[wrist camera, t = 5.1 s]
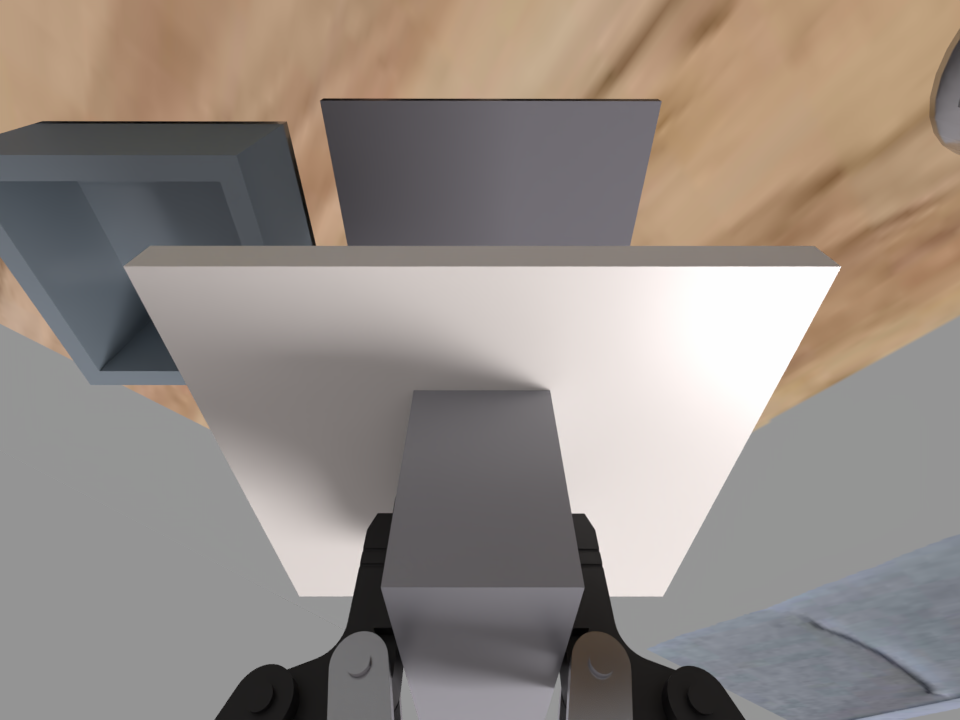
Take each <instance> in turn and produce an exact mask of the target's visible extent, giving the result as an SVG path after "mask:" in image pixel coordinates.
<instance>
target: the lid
mask: <svg viewBox="0 0 960 720" xmlns="http://www.w3.org/2000/svg"><path fill="white" fill-rule="evenodd" d="M123 267H124V269H125V271H126V272H127V274H128V276H129V278H130V280H131V282H132V284H133V286H134V287H135V289H136V291H137V293H138V295H139V297H140V299H141V301H142V302H143V304H144V306H145V308H146V310H147V312H148V314H149V316H150V317H151V319H152V321H153V323H154V325H155V327H156V329H157V331H158V332H159V334H160V336H161V338H162V340H163V342H164V344H165V346H166V347H167V349H168V351H169V353H170V355H171V357H172V359H173V361H174V362H175V364H176V366H177V368H178V370H179V372H180V374H181V376H182V377H183V379H184V381H185V383H186V385H187V387H188V389H189V391H190V392H191V394H192V396H193V398H194V400H195V402H196V404H197V406H198V407H199V409H200V411H201V413H202V415H203V417H204V419H205V421H206V422H207V424H208V426H209V428H210V430H211V432H212V434H213V436H214V437H215V439H216V441H217V443H218V445H219V447H220V449H221V451H222V452H223V454H224V456H225V458H226V460H227V462H228V464H229V466H230V467H231V469H232V471H233V473H234V475H235V477H236V479H237V480H238V482H239V484H240V486H241V488H242V490H243V492H244V494H245V495H246V497H247V499H248V501H249V503H250V505H251V507H252V509H253V510H254V512H255V514H256V516H257V518H258V520H259V522H260V524H261V525H262V527H263V529H264V531H265V533H266V535H267V537H268V539H269V540H270V542H271V544H272V546H273V548H274V550H275V552H276V554H277V555H278V557H279V559H280V561H281V563H282V565H283V567H284V569H285V570H286V572H287V574H288V576H289V578H290V580H291V582H292V584H293V585H294V587H295V589H296V591H297V593H298V595H299V596H353V594H354V589H355V584H356V579H357V575H358V570H359V567H360V560H361V556H362V552H363V546H364V541H365V537H366V532H367V529H368V527H369V526H370V524H371V523H372V521H373V519H374V518H375V516H376V515H377V513H393V517H392V523H391V529H390V535H389V541H388V547H387V553H386V559H385V565H384V571H383V577H382V583H381V590H382V594H383V597H384V601H385V604H386V608H387V611H388V615H389V618H390V622H391V625H392V629H393V632H394V636H395V639H396V643H397V646H398V650H399V653H400V657H401V660H402V664H403V667H404V671H405V674H406V677H407V681H408V685H409V688H410V691H411V695H412V699H413V702H414V706H415V709H416V712H417V716H418V720H545V718H546V714H547V711H548V708H549V704H550V701H551V698H552V694H553V691H554V688H555V684H556V681H557V678H558V674H559V671H560V668H561V664H562V661H563V658H564V654H565V651H566V648H567V645H568V641H569V638H570V635H571V631H572V628H573V625H574V621H575V618H576V615H577V611H578V608H579V605H580V601H581V598H582V595H583V591H584V588H585V587H584V581H583V575H582V569H581V564H580V558H579V552H578V547H577V541H576V535H575V530H574V524H573V518H572V513H585V515H586V516H587V518H588V520H589V521H590V523H591V524H592V526H593V527H594V529H595V531H596V536H597V540H598V545H599V552H600V554H601V559H602V566H603V568H604V573H605V578H606V582H607V587H608V592H609V596H610V597H663V596H664V594H665V592H666V590H667V588H668V586H669V585H670V583H671V581H672V579H673V577H674V575H675V573H676V572H677V570H678V568H679V566H680V564H681V562H682V560H683V559H684V557H685V555H686V553H687V551H688V549H689V548H690V546H691V544H692V542H693V540H694V538H695V536H696V535H697V533H698V531H699V529H700V527H701V525H702V523H703V522H704V520H705V518H706V516H707V514H708V512H709V511H710V509H711V507H712V505H713V503H714V501H715V499H716V498H717V496H718V494H719V492H720V490H721V488H722V487H723V485H724V483H725V481H726V479H727V477H728V475H729V474H730V472H731V470H732V468H733V466H734V464H735V462H736V461H737V459H738V457H739V455H740V453H741V451H742V450H743V448H744V446H745V444H746V442H747V440H748V438H749V437H750V435H751V433H752V431H753V429H754V427H755V425H756V424H757V422H758V420H759V418H760V416H761V414H762V413H763V411H764V409H765V407H766V405H767V403H768V401H769V400H770V398H771V396H772V394H773V392H774V390H775V389H776V387H777V385H778V383H779V381H780V379H781V377H782V376H783V374H784V372H785V370H786V368H787V366H788V364H789V363H790V361H791V359H792V357H793V355H794V353H795V352H796V350H797V348H798V346H799V344H800V342H801V340H802V339H803V337H804V335H805V333H806V331H807V329H808V327H809V326H810V324H811V322H812V320H813V318H814V316H815V315H816V313H817V311H818V309H819V307H820V305H821V303H822V302H823V300H824V298H825V296H826V294H827V292H828V290H829V289H830V287H831V285H832V283H833V281H834V279H835V278H836V276H837V274H838V272H839V270H840V268H841V266H840V265H839V264H837V263H836V262H835V261H833V260H832V259H831V258H830V257H828V256H827V255H826V254H824V253H823V252H822V251H820V250H819V249H818V248H816V247H815V246H149V247H148V248H147V249H145V250H144V251H143V252H141V253H140V254H139V255H138V256H136V257H135V258H134V259H132V260H131V261H130V262H128V263H127V264H126V265H125V266H123ZM395 497H396V499H395ZM394 501H395V505H394ZM393 507H394V511H393Z"/></svg>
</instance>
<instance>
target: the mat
mask: <svg viewBox="0 0 960 720" xmlns="http://www.w3.org/2000/svg"><path fill="white" fill-rule="evenodd" d="M661 103H662V101H661V100H659V99H402V98H323V99H322V100H320V104H321V109H322V114H323V119H324V125H325V130H326V135H327V140H328V146H329V151H330V156H331V161H332V167H333V172H334V177H335V182H336V188H337V193H338V198H339V203H340V209H341V214H342V219H343V224H344V230H345V235H346V240H347V245H348V246H630V244H631V239H632V235H633V230H634V226H635V221H636V217H637V212H638V207H639V203H640V198H641V194H642V189H643V185H644V180H645V176H646V171H647V166H648V162H649V157H650V153H651V148H652V144H653V139H654V134H655V130H656V125H657V121H658V116H659V112H660V107H661Z"/></svg>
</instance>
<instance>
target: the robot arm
mask: <svg viewBox="0 0 960 720" xmlns="http://www.w3.org/2000/svg"><path fill="white" fill-rule="evenodd" d="M929 118H930V121H931V125H932V129H933V132H934V134H935V136H936V137H937V138H938V140H939V141H940V143H941V144H942V145H943V146H944V147H946V148H947V149H949V150H950V151H952V152H954V153H955V154H958V155H960V29H959V30H958V32H957V33H956V35H955V37H954V38H953V40H952V42H951V43H950V45H949V46H948V48H947V50H946V52H945V54H944V57H943V59H942V61H941V63H940V66H939V68H938V70H937V72H936V75H935V79H934V83H933V87H932V91H931V95H930V111H929ZM395 499H396V497H395ZM394 505H395V501H394ZM393 511H394V507H393ZM392 517H393V513H377V515H376V516H375V518H374V519H373V521H372V523H371V524H370V526H369V527H368V529H367V532H366V537H365V541H364V546H363V552H362V556H361V560H360V567H359V570H358V575H357V579H356V584H355V589H354V594H353V599H352V603H351V608H350V613H349V618H348V622H347V626H346V629H345V631H344V633H343V635H342V637H341V638H340V640H339V641H338V643H337V644H336V645H335V646H334V647H333V648H332V649H331V650H329V651H328V652H327V653H325V654H324V655H322V656H320V657H318V658H316V659H313V660H311V661H308V662H305V663H303V664H300V665H297V666H295V667H292V668H289V669H286V668H284V667H283V666H280V665H277V664H267V665H263V666H260V667H258V668H256V669H254V670H253V671H251V672H250V673H249V674H248V675H247V676H246V677H244V679H242V681H241V682H240V683H239V684H238V686H237V687H236V689H235V690H234V692H233V693H232V695H231V696H230V697H229V699H228V700H227V702H226V704H225V705H224V706H223V708H222V709H221V711H220V712H219V714H218V715H217V717H216V718H215V720H402V706H401V686H402V677H403V668H404V667H403V664H402V660H401V657H400V653H399V650H398V646H397V643H396V639H395V636H394V632H393V629H392V625H391V622H390V618H389V615H388V611H387V608H386V604H385V601H384V597H383V594H382V590H381V583H382V577H383V571H384V565H385V559H386V553H387V547H388V541H389V535H390V529H391V523H392ZM572 518H573V524H574V530H575V535H576V541H577V547H578V552H579V558H580V564H581V569H582V575H583V581H584V587H585V588H584V591H583V595H582V598H581V601H580V605H579V608H578V611H577V615H576V618H575V621H574V625H573V628H572V631H571V635H570V638H569V641H568V645H567V648H566V651H565V654H564V658H563V661H562V664H561V668H560V671H559V673H560V681H561V688H560V693H559V706H558V720H746V719H745V718H744V717H743V715H742V714H741V712H740V711H739V709H738V708H737V706H736V705H735V703H734V702H733V700H732V699H731V697H730V696H729V695H728V693H727V692H726V690H725V689H724V687H723V686H722V685H721V683H720V682H719V681H718V680H717V679H716V678H715V677H714V676H713V675H711V674H710V673H709V672H707V671H705V670H704V669H701V668H699V667H695V666H683V667H680V668H678V669H677V670H674V669H672V668H669V667H666V666H664V665H661V664H658V663H656V662H653V661H650V660H648V659H645V658H643V657H641V656H640V655H638V654H636V653H635V652H634V651H633V650H631V649H630V648H629V647H628V646H627V645H626V643H625V642H624V641H623V639H622V638H621V636H620V634H619V632H618V630H617V627H616V624H615V620H614V615H613V610H612V606H611V601H610V596H609V592H608V587H607V582H606V578H605V573H604V568H603V566H602V559H601V554H600V552H599V545H598V540H597V536H596V531H595V529H594V527H593V526H592V524H591V523H590V521H589V520H588V518H587V516H586V515H585V513H572Z"/></svg>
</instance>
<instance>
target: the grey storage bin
mask: <svg viewBox="0 0 960 720" xmlns="http://www.w3.org/2000/svg"><path fill="white" fill-rule="evenodd" d="M149 246H316V243H315V238H314V234H313V230H312V226H311V221H310V217H309V213H308V209H307V204H306V200H305V196H304V192H303V187H302V183H301V179H300V175H299V171H298V166H297V162H296V158H295V154H294V149H293V145H292V141H291V137H290V132H289V128H288V124H287V121H41V122H38V123H34V124H31V125H27V126H24V127H21V128H17V129H14V130H11V131H7V132H4V133H0V257H1V259H2V260H3V262H4V263H5V264H6V266H7V267H8V269H9V270H10V271H11V273H12V274H13V276H14V277H15V279H16V280H17V281H18V283H19V284H20V286H21V287H22V288H23V290H24V291H25V293H26V294H27V296H28V297H29V298H30V300H31V301H32V303H33V304H34V306H35V307H36V308H37V310H38V311H39V313H40V314H41V315H42V317H43V318H44V320H45V321H46V323H47V324H48V325H49V327H50V328H51V330H52V331H53V332H54V334H55V335H56V337H57V338H58V340H59V341H60V342H61V344H62V345H63V347H64V348H65V349H66V351H67V352H68V354H69V355H70V357H71V358H72V359H73V361H74V362H75V364H76V365H77V366H78V368H79V369H80V371H81V372H82V374H83V375H84V376H85V378H86V379H87V381H88V382H89V383H90V385H186V383H185V381H184V379H183V377H182V376H181V374H180V372H179V370H178V368H177V366H176V364H175V362H174V361H173V359H172V357H171V355H170V353H169V351H168V349H167V347H166V346H165V344H164V342H163V340H162V338H161V336H160V334H159V332H158V331H157V329H156V327H155V325H154V323H153V321H152V319H151V317H150V316H149V314H148V312H147V310H146V308H145V306H144V304H143V302H142V301H141V299H140V297H139V295H138V293H137V291H136V289H135V287H134V286H133V284H132V282H131V280H130V278H129V276H128V274H127V272H126V271H125V269H124V267H123V266H125V265H126V264H127V263H128V262H130V261H131V260H132V259H134V258H135V257H136V256H138V255H139V254H140V253H141V252H143V251H144V250H145V249H147V248H148V247H149Z"/></svg>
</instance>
